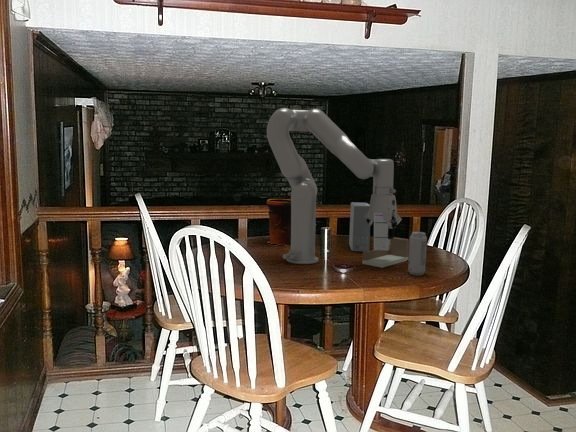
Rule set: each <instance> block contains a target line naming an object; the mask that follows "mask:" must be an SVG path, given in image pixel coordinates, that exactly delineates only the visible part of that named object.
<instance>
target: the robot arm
mask: <svg viewBox="0 0 576 432" xmlns="http://www.w3.org/2000/svg"><path fill="white" fill-rule="evenodd" d="M290 132H310V133H311V134H312V135H313V136H314V137H316V139H318V141H319V142H321V143H322V145H324V147H326V149H327V150H328V151H329V152H330V153H331V154H333V155H334V156H335V157H337V158H338V159H339V161H341V162H342V163H343V164H344V166H346V167H347V169H349V170H350V171H351V172H352V173H353V174H354V175H355V176H356V177H357V178H359V179H361V180H366V179H369V178H371V177H372V178H373V179H372V181H373V182H372V194H371V196H370V200H369V205H370V208H369V211H368V212H367V213H366V214H364V217H365V219H366V221H367V222H368V224H369V226H370V238H371V237H374V213H382V215H383V219H384V221H386V222H388V225H389V229H388V239H393V238H394V237H395V228H397V226H398V225H400V222H401V221H402V220H403V218H402V217H401V216H400V215H399V214H398V210H397V208H398V207H397V200H396V195H395V193H396V192H397V189H395V188H394V174H395V173H394V170H395V169H394V168H395V167H394V165H395V164H394V160H393V159H391V158H376V159H371V158H368V157H367V156H365V154H364V153H363V152H362V151H361V150H360V149H359V148H358V147H357V146H356V145H355V144H354V143H353V142H352V141H351V139H350V138H349V137H348V135H347V134H346V133H345V132H344V131H343V130H342V129H340V127H339V126H338V125H337V124H336V123H335V122H333V120H331V118H330V117H329V116H328V115H326V113H325V112H324V111H323V110H321V109H319V108H311V109H290V108H288V107H281V108H278V109H276V110H275V111H274V112H273V114H272V115H271V116H270V117H269V119H268V122H267V126H266V136H267V137H266V138H267V141H268V144H269V146H270V148H271V151H272V153H273V156H274V158H275V160H276V162H277V164H278V167H279V168H280V172H281V174H282V175H283V177H284V178H286V180H287V181H288V183H289V186H290V188H291V193H290V200H291V245H290V249H289V250H288V252H287V253H283V254H282V259H284V260H286V261H287V263H290V264H296V265H311V264H312V265H313V264H317V263H318V262H319V257H317V256H315V255H316V224H317V222H316V221H317V220H316V219H317V217H316V216H317V213H316V211H317V195H318V187H317V184H316V181H315V180H314V177H313V176H312V173H311V171H310V169H309V166H308V165H307V163H306V161H305V159H304V158H303V157H302V156H300V155H299V153H298V151H297V149H296V147H295V145H294V142H293V140H292V138H291V136H290V135H291V134H290Z"/></svg>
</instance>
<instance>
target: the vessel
mask: <svg viewBox="0 0 576 432" xmlns="http://www.w3.org/2000/svg"><path fill="white" fill-rule="evenodd" d="M266 206H267V207H268V216H269V220H268V222H269V224H268V225H269V228H268V232H269V241H267V244H268V243H271V244H277V245H285V246H291V198H287V199H286V198H269V199H267V200H266ZM271 244H270V245H271ZM277 245H276V246H277Z"/></svg>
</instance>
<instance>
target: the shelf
mask: <svg viewBox="0 0 576 432" xmlns="http://www.w3.org/2000/svg"><path fill="white" fill-rule="evenodd" d="M409 243H410V238H409V239H408V238H403V237H402V238H401V237H395V236H394V238H393V239H390V249H389V250H388V251H384V250H374V249H372V250H369V251H367V252H365V251H362V263H361V264H362V265H367V266H372V267H377V268H385V267H389V266H392V265H397V264H400V263H403V262H407V260H408V261H409Z"/></svg>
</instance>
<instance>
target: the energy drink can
mask: <svg viewBox="0 0 576 432" xmlns="http://www.w3.org/2000/svg"><path fill="white" fill-rule="evenodd" d="M426 234H427V233H426V232H422V231H412V232H411V234H410V235H409V254H408V264H407V265H408V266H407V271H408V272H409V275H412V276H423V275H424V274H425V273H426V264H427V263H426V262H427V248H428V247H427V245H428V244H427V243H428V237H427V235H426Z"/></svg>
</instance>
